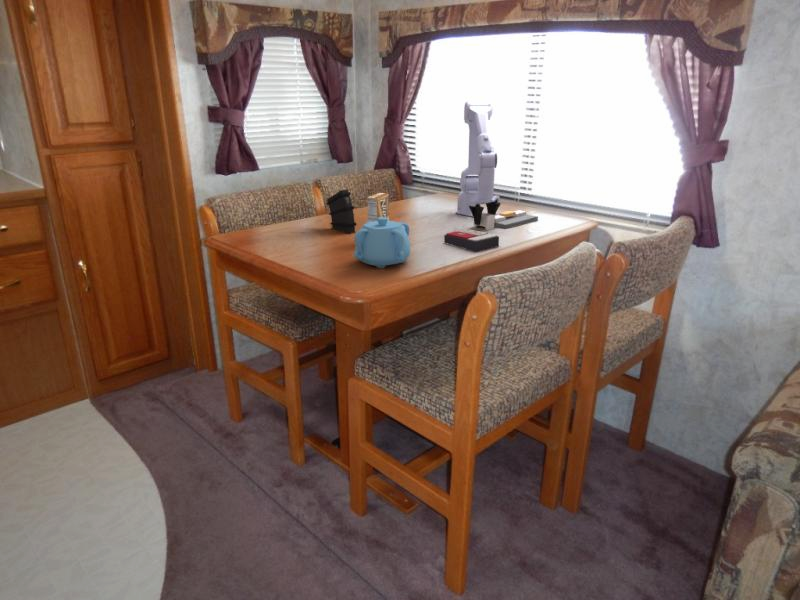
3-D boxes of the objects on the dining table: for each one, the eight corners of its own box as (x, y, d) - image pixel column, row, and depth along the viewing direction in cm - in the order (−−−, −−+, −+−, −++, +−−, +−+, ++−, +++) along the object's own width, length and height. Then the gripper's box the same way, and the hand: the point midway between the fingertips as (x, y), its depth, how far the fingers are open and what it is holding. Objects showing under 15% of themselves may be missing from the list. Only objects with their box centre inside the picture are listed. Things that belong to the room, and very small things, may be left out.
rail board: (476, 222, 218) (476, 215, 217) (508, 214, 230) (509, 208, 229) (505, 228, 208) (506, 221, 207) (537, 220, 221) (538, 213, 220)
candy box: (378, 236, 199) (378, 192, 194) (389, 237, 198) (389, 193, 192) (367, 242, 192) (366, 196, 186) (378, 243, 190) (377, 197, 185)
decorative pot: (366, 253, 179) (364, 210, 175) (415, 256, 176) (415, 213, 171) (348, 268, 165) (346, 222, 160) (402, 272, 161) (401, 225, 156)
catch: (499, 216, 218) (499, 213, 217) (509, 213, 221) (509, 210, 221) (505, 217, 216) (506, 214, 215) (515, 215, 219) (515, 211, 219)
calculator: (467, 227, 196) (499, 234, 185) (467, 240, 198) (499, 246, 186) (443, 232, 190) (475, 239, 179) (443, 245, 191) (475, 252, 180)
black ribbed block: (352, 231, 199) (340, 190, 199) (334, 240, 210) (323, 201, 210) (361, 229, 201) (349, 188, 201) (343, 238, 212) (331, 200, 212)
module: (473, 226, 212) (474, 213, 210) (480, 225, 214) (481, 211, 212) (487, 229, 207) (487, 216, 205) (494, 228, 210) (494, 214, 208)
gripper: (481, 189, 198) (479, 228, 203) (507, 185, 207) (504, 221, 212) (466, 187, 203) (464, 224, 208) (492, 182, 212) (490, 218, 217)
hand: (483, 223), depth 210 cm, fingers open, 7 cm apart
